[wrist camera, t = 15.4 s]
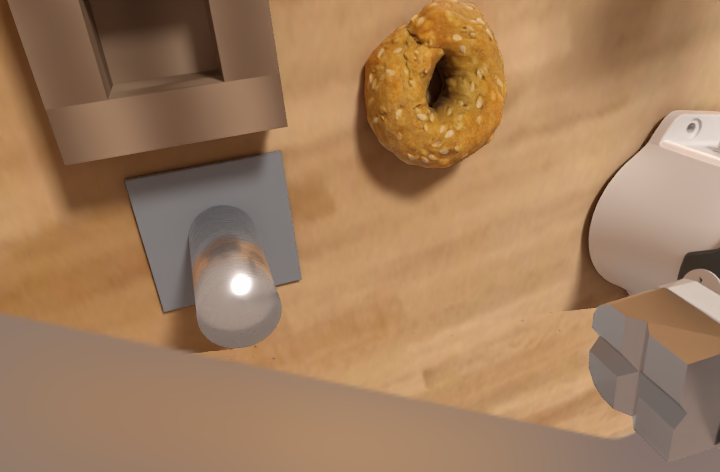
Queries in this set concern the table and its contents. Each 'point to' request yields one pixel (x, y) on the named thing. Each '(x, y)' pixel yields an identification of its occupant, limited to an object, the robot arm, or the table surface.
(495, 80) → the bagel
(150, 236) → the mat
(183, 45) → the pocket block
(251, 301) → the part
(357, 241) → the table surface
